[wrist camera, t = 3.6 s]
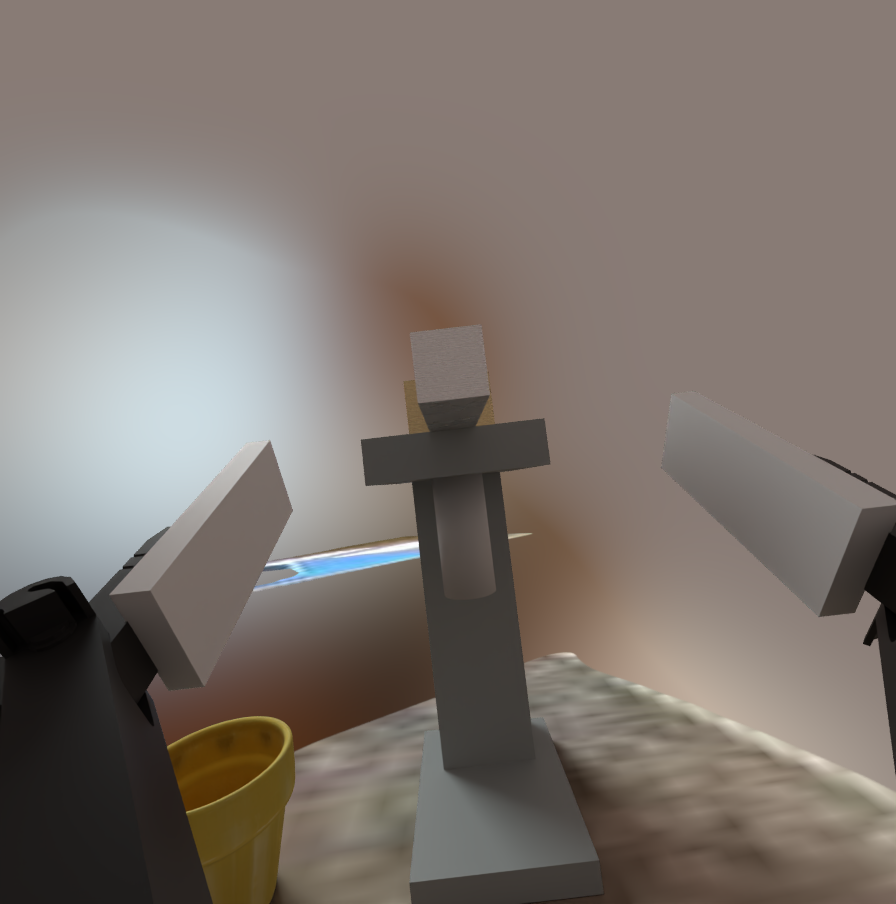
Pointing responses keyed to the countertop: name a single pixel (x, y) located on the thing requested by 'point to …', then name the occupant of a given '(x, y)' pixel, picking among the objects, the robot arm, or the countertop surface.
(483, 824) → the press stand
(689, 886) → the countertop surface
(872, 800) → the countertop surface
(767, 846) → the countertop surface
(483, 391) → the metal block
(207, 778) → the plant pot
